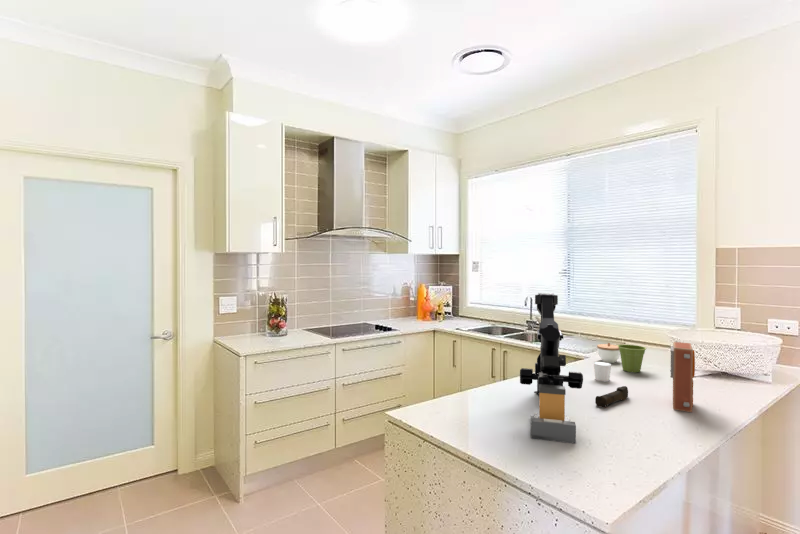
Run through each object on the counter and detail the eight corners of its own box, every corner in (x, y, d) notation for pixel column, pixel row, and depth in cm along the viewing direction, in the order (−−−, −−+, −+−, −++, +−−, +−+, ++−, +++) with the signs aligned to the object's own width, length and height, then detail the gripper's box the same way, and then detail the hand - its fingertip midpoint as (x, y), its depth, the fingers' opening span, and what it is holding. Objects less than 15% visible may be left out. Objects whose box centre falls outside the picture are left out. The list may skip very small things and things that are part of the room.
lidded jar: (600, 363, 213) (600, 344, 212) (594, 358, 223) (594, 340, 223) (623, 364, 211) (623, 345, 211) (616, 359, 221) (616, 341, 221)
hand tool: (605, 409, 148) (605, 396, 147) (594, 405, 151) (594, 392, 151) (635, 399, 158) (635, 387, 158) (624, 396, 161) (624, 384, 161)
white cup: (612, 378, 185) (612, 362, 185) (610, 382, 179) (610, 366, 179) (594, 376, 188) (594, 360, 188) (592, 380, 183) (592, 364, 182)
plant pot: (651, 374, 192) (651, 349, 192) (625, 374, 192) (625, 349, 192) (637, 367, 204) (637, 344, 204) (612, 367, 204) (612, 344, 204)
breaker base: (530, 418, 138) (530, 402, 138) (570, 422, 135) (570, 405, 135) (531, 438, 123) (531, 420, 123) (575, 443, 120) (575, 424, 119)
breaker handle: (538, 423, 131) (538, 384, 131) (564, 425, 129) (564, 386, 129) (538, 427, 128) (539, 387, 128) (565, 429, 126) (565, 389, 126)
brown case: (692, 401, 155) (694, 414, 142) (669, 398, 159) (670, 410, 146) (693, 342, 155) (695, 350, 142) (670, 340, 158) (670, 347, 146)
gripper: (520, 343, 138) (519, 386, 127) (582, 346, 132) (587, 392, 122) (520, 362, 145) (519, 404, 135) (579, 366, 140) (583, 410, 129)
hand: (551, 402), depth 130 cm, fingers closed, pressing on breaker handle
